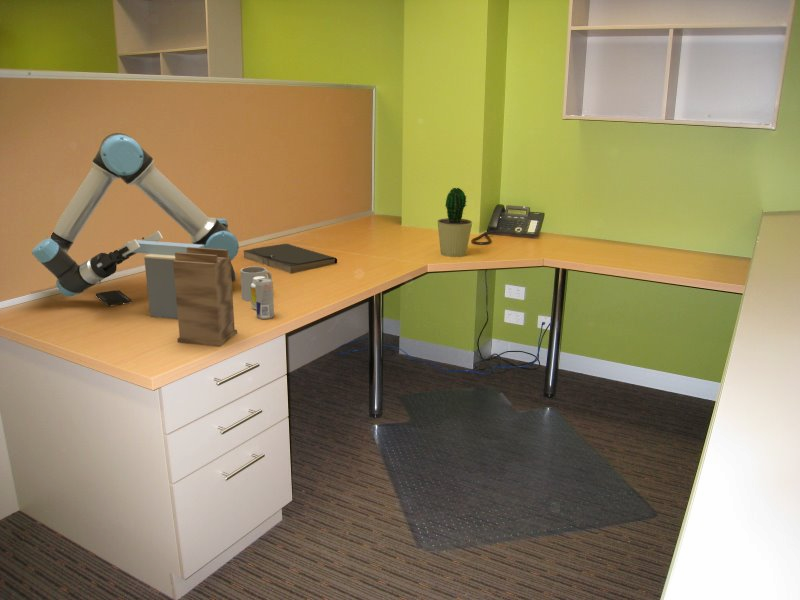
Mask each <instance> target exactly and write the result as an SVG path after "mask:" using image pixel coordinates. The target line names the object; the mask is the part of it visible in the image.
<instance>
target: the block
mask: <svg viewBox="0 0 800 600" xmlns="http://www.w3.org/2000/svg"><path fill="white" fill-rule="evenodd" d="M143 258H144V259H143V260H144V268H145V269H144V270H145V278H146V279H145V280H146V287H147V297H148V308H149V309H148V310H149V317H150V316H153V317H152V318H159V317H161V318H160V319H170V318H171V319H170V320H172V319H173V320H178V313H177V301H176V290H175V279H174V267H173V261H175V256H173V255H160V254H145V255H144V256H143Z"/></svg>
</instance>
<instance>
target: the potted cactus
mask: <svg viewBox="0 0 800 600" xmlns="http://www.w3.org/2000/svg"><path fill="white" fill-rule="evenodd" d="M466 192H467V191H466ZM466 192H465V191H464V189H463V188H462V189H461V188H459V187H452V188H451V189H450V191H448V192H447V195H446V198H445V206H444V208H445V209H446V214H447V215H446V216H447V217H446V218H445V217H444V218H439V219H437V230H438V239H439V248H440V255H441V256H445V257H451V258H459V257H460V258H462V257H465V256H466V255H467V251H468V245H469V241H470V235H471V231H472V225H473V221H472V220H470V219H465V218H463V214H466V213H464V209H465V208H466V207H467V206H468V205H467V204H466V203H467V195H466V194H465V193H466Z"/></svg>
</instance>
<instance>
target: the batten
mask: <svg viewBox="0 0 800 600" xmlns="http://www.w3.org/2000/svg"><path fill="white" fill-rule="evenodd" d="M142 240H143V239H142ZM142 240H141V239H140V240H139V239H136V241H137V242H138V244H139V245H140V247H139V248H137V249H136V250H134V251H132V252H133V253H136V254H145V255H148V254H160V255H173V256H175V253H176V252H181V253H187V247H196V248H205V245H199V244H193V243H181V242H169V241H157V242H156V241H142ZM131 241H132V240H129V241H127V242H126V243H125V244H127V243H129V242H131Z"/></svg>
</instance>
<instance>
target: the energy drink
mask: <svg viewBox="0 0 800 600" xmlns="http://www.w3.org/2000/svg"><path fill="white" fill-rule="evenodd" d="M273 284H274V281H273V278H272V279H269V278H268V277H267V278H261V279H257V280H256V282H255V288H256V309H257V310H256V309H255V310H256V317H257V318H258V319H259V320H270V319H273V318H274V317H275V307H274V306H275V304H274V285H273ZM272 317H273V318H272Z"/></svg>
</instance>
